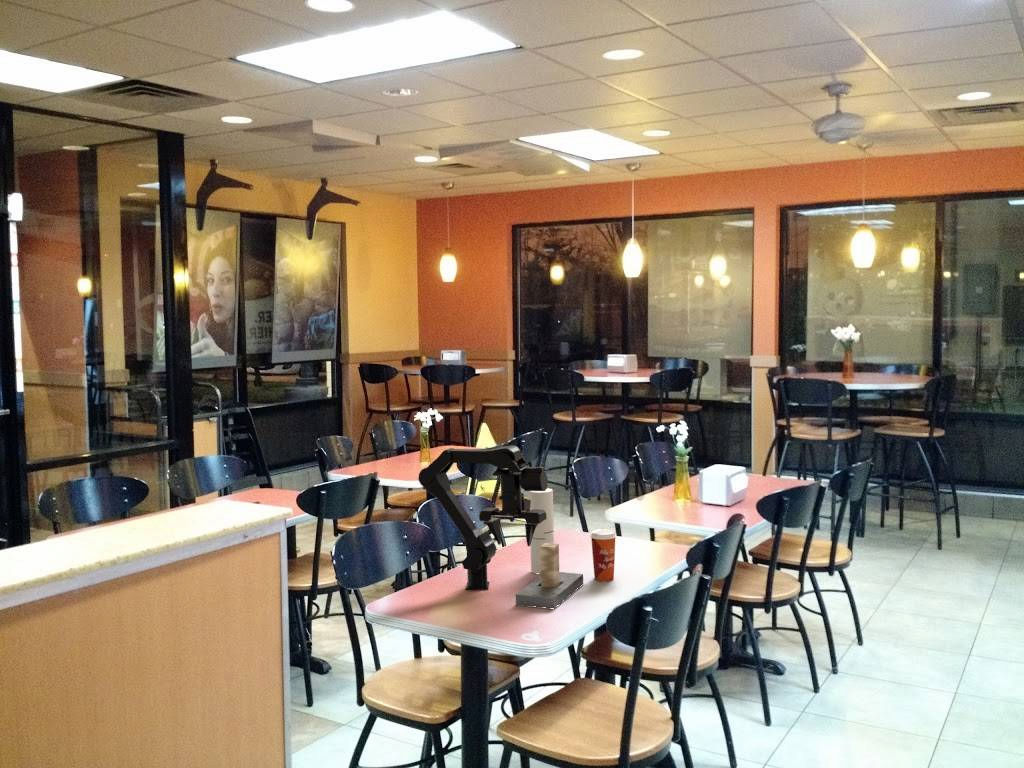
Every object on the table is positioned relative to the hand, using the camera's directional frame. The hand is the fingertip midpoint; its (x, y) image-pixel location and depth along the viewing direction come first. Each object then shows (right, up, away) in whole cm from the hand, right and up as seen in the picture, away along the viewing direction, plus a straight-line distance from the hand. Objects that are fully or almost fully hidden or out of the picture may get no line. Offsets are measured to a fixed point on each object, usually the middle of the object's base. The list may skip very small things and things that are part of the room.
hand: (514, 545), depth 259 cm
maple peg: (+10, -13, -4) cm, 17 cm away
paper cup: (+27, -12, +10) cm, 31 cm away
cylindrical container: (+9, -12, +20) cm, 25 cm away
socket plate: (+10, -13, -4) cm, 17 cm away
